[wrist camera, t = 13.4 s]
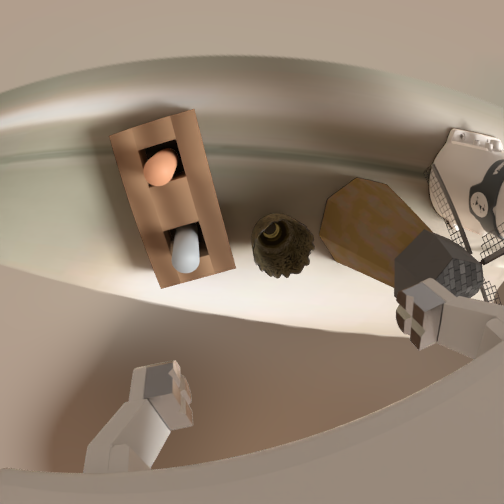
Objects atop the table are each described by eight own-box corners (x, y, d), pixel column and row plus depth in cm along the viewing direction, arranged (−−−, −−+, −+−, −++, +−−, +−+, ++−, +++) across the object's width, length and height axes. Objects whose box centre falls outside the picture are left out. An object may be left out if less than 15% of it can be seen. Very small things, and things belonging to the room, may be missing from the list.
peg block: (194, 110, 37) (194, 108, 32) (231, 252, 45) (236, 268, 41) (118, 134, 36) (109, 135, 31) (163, 271, 44) (161, 288, 40)
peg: (175, 144, 38) (169, 152, 29) (181, 166, 39) (177, 181, 30) (152, 151, 38) (139, 161, 29) (158, 173, 39) (148, 189, 30)
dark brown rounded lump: (252, 196, 42) (265, 213, 35) (302, 209, 44) (323, 228, 37) (236, 247, 45) (246, 272, 38) (285, 257, 47) (302, 283, 40)
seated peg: (194, 216, 42) (195, 244, 33) (200, 236, 43) (203, 269, 34) (172, 222, 42) (167, 251, 33) (179, 242, 43) (176, 276, 34)
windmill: (399, 269, 52) (517, 378, 25) (326, 294, 51) (426, 440, 24) (392, 146, 43) (567, 203, 16) (306, 163, 42) (475, 248, 15)
